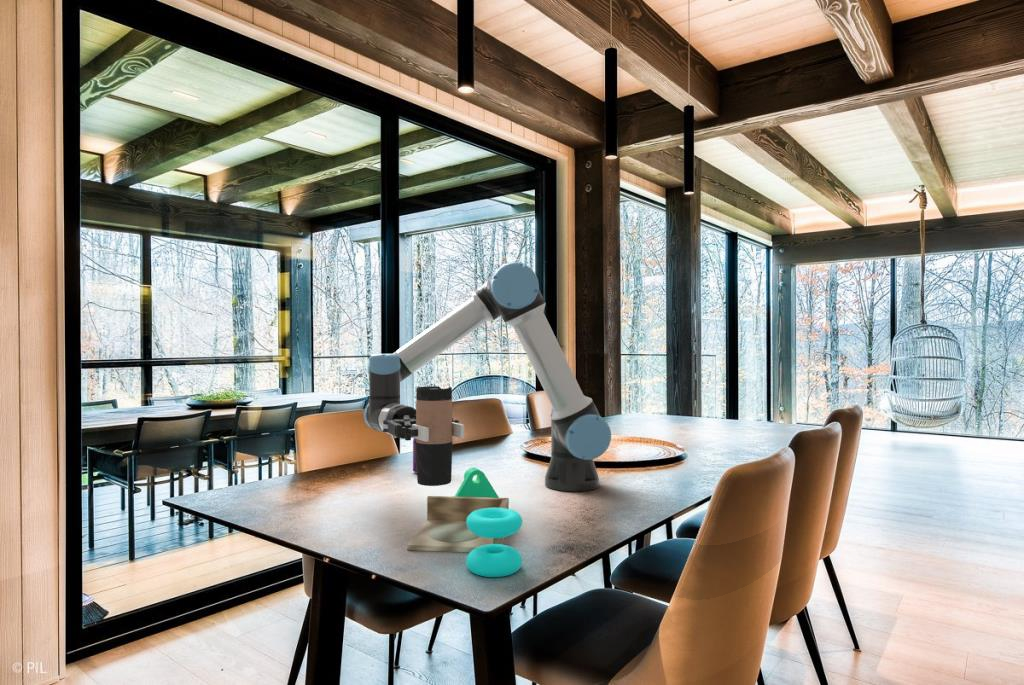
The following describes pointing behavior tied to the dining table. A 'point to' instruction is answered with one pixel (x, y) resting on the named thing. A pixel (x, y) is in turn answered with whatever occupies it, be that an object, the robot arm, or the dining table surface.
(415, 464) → the beverage can
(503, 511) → the donuts
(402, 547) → the dining table surface
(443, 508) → the corner tray
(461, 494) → the camera mount
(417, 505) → the dining table surface
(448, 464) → the travel mug
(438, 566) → the dining table surface
